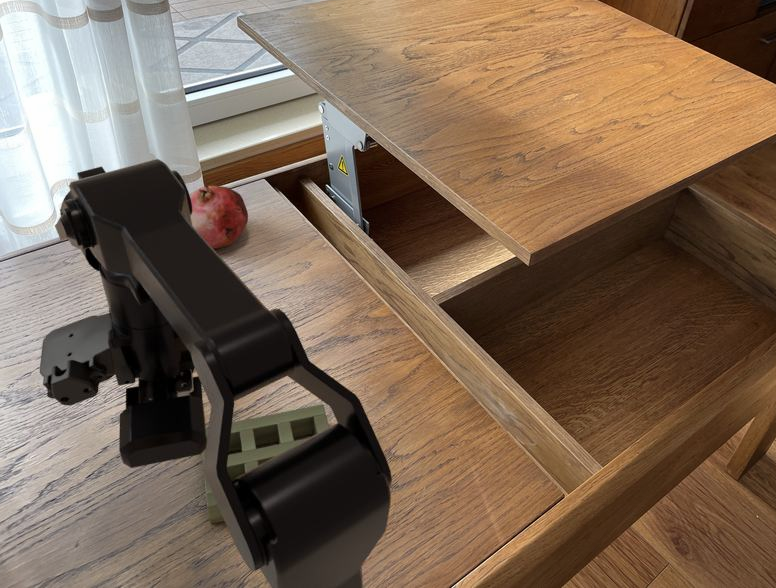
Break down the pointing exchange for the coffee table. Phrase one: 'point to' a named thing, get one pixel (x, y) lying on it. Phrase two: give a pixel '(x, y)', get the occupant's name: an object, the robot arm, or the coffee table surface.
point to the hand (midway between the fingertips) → (173, 417)
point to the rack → (265, 432)
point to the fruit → (218, 215)
